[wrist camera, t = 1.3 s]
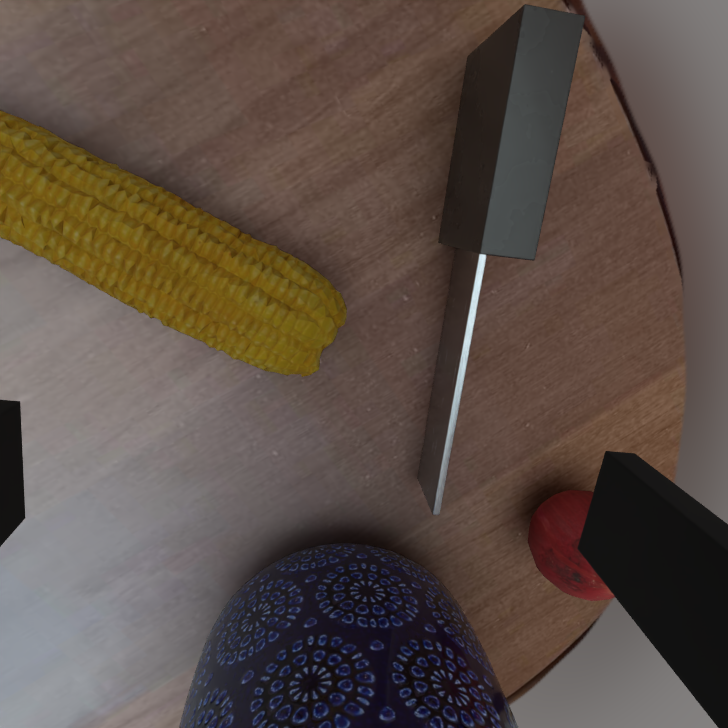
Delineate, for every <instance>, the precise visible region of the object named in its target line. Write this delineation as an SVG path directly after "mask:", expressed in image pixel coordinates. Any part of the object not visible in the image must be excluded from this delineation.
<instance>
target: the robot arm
mask: <svg viewBox="0 0 728 728" xmlns="http://www.w3.org/2000/svg"><path fill="white" fill-rule="evenodd" d="M24 519H25V502H24V480H23V457H22V434H21V411H20V401H8V400H0V546H1V545H2V544H3V543H4V542H5V540H6V539H7V538H8V537H9V536H10V535H11V534H12V532H13V531H14V530H15V529H16V528H17V527H18V526H19V525H20V523H21V522H22V521H23V520H24ZM577 549H578V550H579V552H580V553H581V554H582V555H583V557H584V558H585V559H586V560H587V562H588V563H589V564H590V565H591V567H592V568H593V569H594V571H595V572H596V573H597V574H598V576H599V577H600V578H601V579H602V581H603V582H604V583H605V585H606V586H607V587H608V588H609V590H610V591H611V592H612V593H613V595H614V596H615V597H616V598H617V600H618V601H619V602H620V603H621V605H622V606H623V607H624V608H625V610H626V611H627V612H628V614H629V615H630V616H631V617H632V619H633V620H634V621H635V622H636V624H637V625H638V626H639V627H640V629H641V630H642V631H643V633H644V634H645V635H646V636H647V638H648V639H649V640H650V642H651V643H652V644H653V645H654V647H655V648H656V649H657V650H658V652H659V653H660V654H661V655H662V657H663V658H664V659H665V660H666V662H667V663H668V664H669V666H670V667H671V668H672V669H673V671H674V672H675V673H676V675H677V676H678V677H679V678H680V680H681V681H682V682H683V683H684V685H685V686H686V687H687V688H688V690H689V691H690V692H691V693H692V695H693V696H694V697H695V699H696V700H697V701H698V702H699V703H700V705H701V706H702V707H703V709H704V710H705V711H706V712H707V714H708V715H709V716H710V718H711V719H712V720H713V721H714V723H715V724H716V725H717V727H718V728H728V524H727V523H725V522H724V521H723V520H721V519H720V518H719V517H717V516H716V515H715V514H713V513H712V512H711V511H710V510H708V509H707V508H705V507H704V506H703V505H702V504H700V503H699V502H698V501H696V500H695V499H694V498H692V497H691V496H690V495H688V494H687V493H685V492H684V491H683V490H682V489H680V488H679V487H678V486H677V485H675V484H674V483H673V482H671V481H670V480H669V479H667V478H666V477H665V476H664V475H662V474H661V473H660V472H658V471H657V470H656V469H654V468H653V467H652V466H650V465H649V464H648V463H646V462H645V461H644V460H642V459H641V458H640V457H639V456H637V455H636V454H635V453H623V452H611V451H606V452H605V455H604V459H603V462H602V465H601V469H600V472H599V476H598V479H597V483H596V486H595V489H594V493H593V496H592V500H591V503H590V507H589V510H588V514H587V517H586V520H585V524H584V527H583V531H582V534H581V538H580V541H579V544H578V548H577Z"/></svg>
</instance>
